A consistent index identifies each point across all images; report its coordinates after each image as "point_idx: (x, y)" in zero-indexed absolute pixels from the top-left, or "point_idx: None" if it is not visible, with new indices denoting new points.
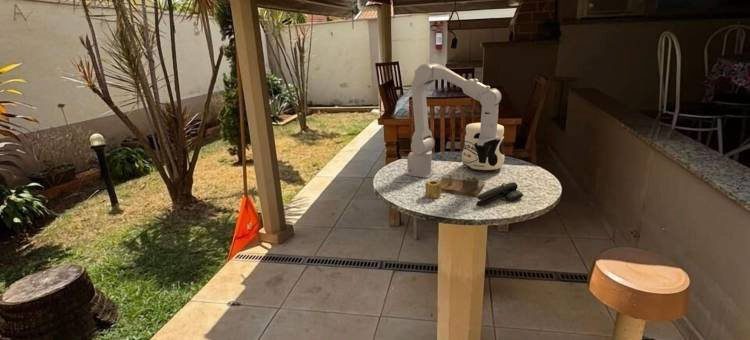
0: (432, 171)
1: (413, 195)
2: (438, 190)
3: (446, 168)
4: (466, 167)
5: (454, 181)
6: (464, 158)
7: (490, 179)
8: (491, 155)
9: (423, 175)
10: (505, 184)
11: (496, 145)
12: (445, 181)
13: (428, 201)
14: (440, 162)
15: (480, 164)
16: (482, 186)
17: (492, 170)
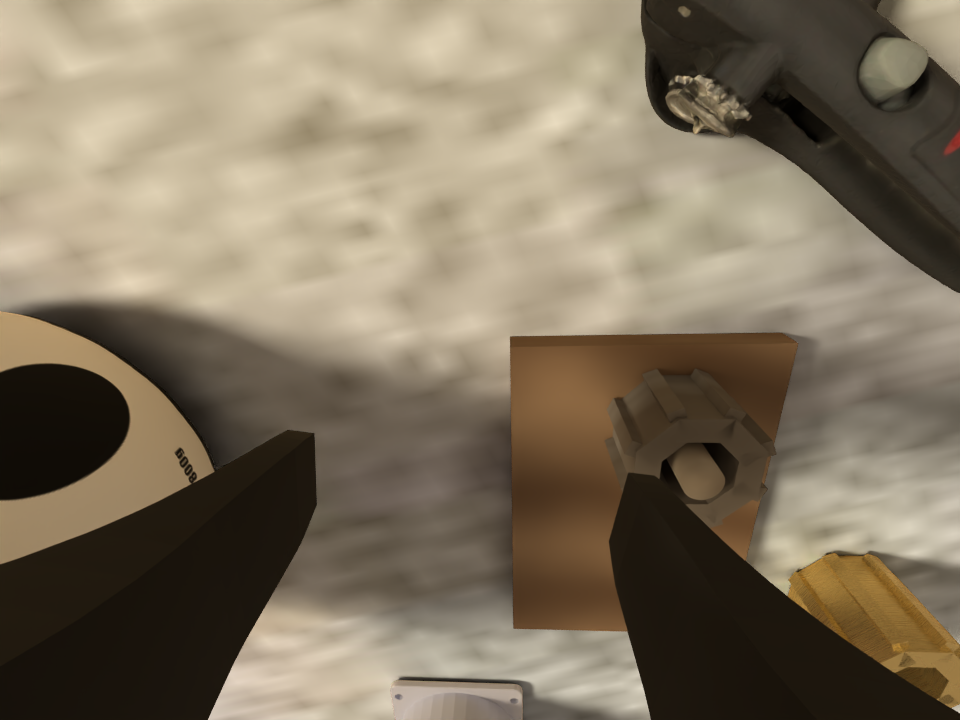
0: (395, 694)
1: None
2: (918, 604)
3: (269, 643)
4: None
5: (563, 551)
6: None
7: (310, 330)
8: (294, 478)
9: (509, 717)
10: (837, 58)
11: (132, 585)
12: (590, 598)
13: (943, 585)
14: None
15: None
16: (580, 343)
17: (129, 364)
